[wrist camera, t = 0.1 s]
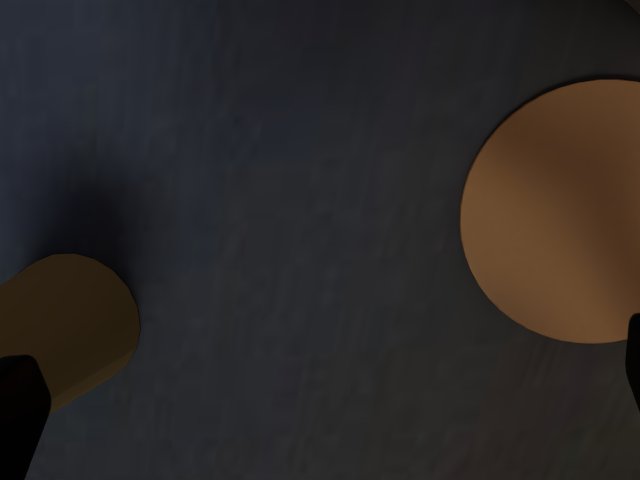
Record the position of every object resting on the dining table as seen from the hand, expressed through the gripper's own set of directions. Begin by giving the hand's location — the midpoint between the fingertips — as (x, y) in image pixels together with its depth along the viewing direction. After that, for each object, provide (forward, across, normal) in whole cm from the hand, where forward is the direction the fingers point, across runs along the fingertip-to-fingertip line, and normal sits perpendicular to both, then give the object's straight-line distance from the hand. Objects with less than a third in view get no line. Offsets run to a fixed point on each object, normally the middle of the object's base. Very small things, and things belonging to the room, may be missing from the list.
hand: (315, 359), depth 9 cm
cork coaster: (+15, -8, +5) cm, 18 cm away
